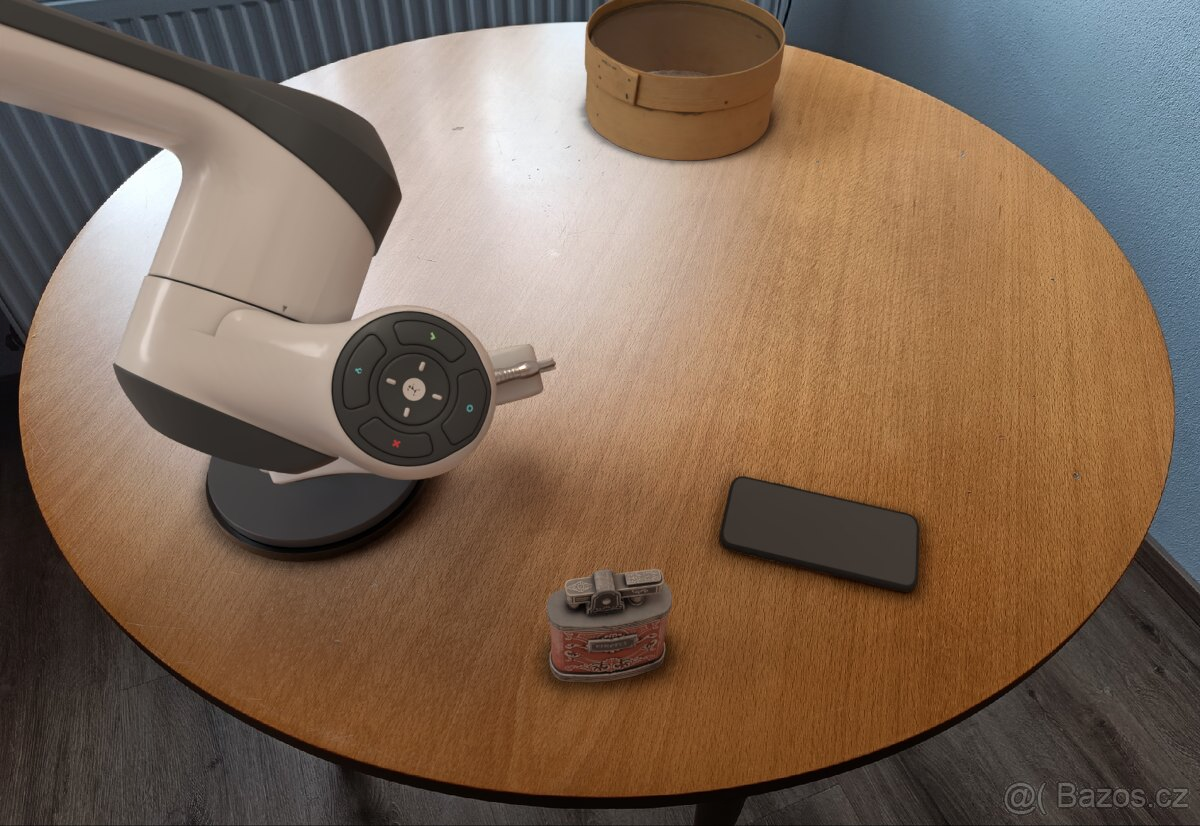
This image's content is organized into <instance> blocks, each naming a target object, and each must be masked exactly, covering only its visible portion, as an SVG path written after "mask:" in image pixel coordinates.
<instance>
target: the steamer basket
mask: <svg viewBox="0 0 1200 826" xmlns="http://www.w3.org/2000/svg"><path fill="white" fill-rule="evenodd" d="M786 38H787V37H786V30H785V28H784V26H783V24H781V22H780V21H779V19H778V18H777V17H776V16H775V15H773V14H771V12H769V11H768V10H767V9H765V8H762V7H760V6H758V5H757V4H755V3H752V2H750V1H748V0H609V1H607V2H605V3H603V4H601V5H600V6H598V7H597V8H596V9H595V10H594V11H593V13H592V14H591V15H590V16H589V18H588V20H587V23H586V26H585V38H584V39H585V40H584V41H585V42H584V68H585V71H586V85H585V86H586V87H585V111H586V116H587V120H588V121H589V123H590V125H591V126H592V127H593V129H594V130H595V131H596V132H597V133H598V134H599V135H600V136H601V137H603V138H604V139H606V140H608V141H609V142H611V143H612V144H614V145H616V146H618V147H620V148H622V149H625V150H627V151H629V152H632V153H635V154H639V155H642V156H646V157H651V158H656V159H660V160H671V161H672V160H673V161H703V160H704V161H705V160H711V159H717V158H721V157H726V156H729V155H732V154H735V153H738V152H740V151H743V150H745V149H746V148H749V147H751V146H752V145H753V144H755V143H756V142H757V141H758V140H759V139H761V137H762V136H763V135H764V134H765V133H766V131H767V129H768V126H769V124H770V117H771V111H772V105H773V100H774V94H775V88H776V84H777V83H778V81H779V79H780V77H781V71H782V64H783V60H784V52H785V45H786ZM664 73H665V74H664ZM674 73H675V74H674ZM691 73H692V74H696V76H694V75H691V76H690V74H691ZM700 74H701V76H699V75H700Z"/></svg>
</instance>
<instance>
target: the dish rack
mask: <svg viewBox="0 0 1200 826" xmlns="http://www.w3.org/2000/svg"><path fill="white" fill-rule="evenodd" d="M207 472H208V485H209V491H210V494H211V497H212V499H213V502H214V504H215V506H216V508H217V509H218V511H219V513H220V514H221V516H222V517H223V518H224V520H225V521H226V522H227V523H228V524H229V525H230V526H231V527H233V528H234V529H235V530H236V531H238V532H239V533H241V534H243V535H245V536H246V537H248V538H250V539H253V540H256V541H258V542H261V543H265V544H269V545H273V546H280V547H290V548H291V547H313V546H321V545H325V544H330V543H334V542H338V541H341V540H344V539H347V538H350V537H352V536H355V535H357V534H359V533H361V532H364V531H366V530H367V529H369V528H371V527H373V526H374V525H376V524H378V523H379V522H381V521H382V520H383V519H385V518H386V517H388V516H389V515H390V514H391V513H392V512H394V511H395V510H396V509H397V508H398V507H399V506H400V505H401V504H402V503H403V502H404V500H405V499H406V498H407V497H408V496H409V494H410V493H411V491H412V490H413V489H414V487H415V485H416V483H417V481H418V479H417V480H398V479H391V478H386V477H382V476H379V475H376V474H372V473H345V474H342V475H334V476H326V477H320V478H315V479H310V480H305V481H300V482H295V481H293V482H289V483H285V484H275V483H274V482H273V481H272V479H271V476H270V474H269V473H264V472H262V471H261V470H260V469H257V468H253V467H248V466H244V465H240V464H237V463H233V462H229V461H226V460H223V459H220V458H217V457H214V456H211V457H210V459H209V463H208V468H207Z"/></svg>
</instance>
